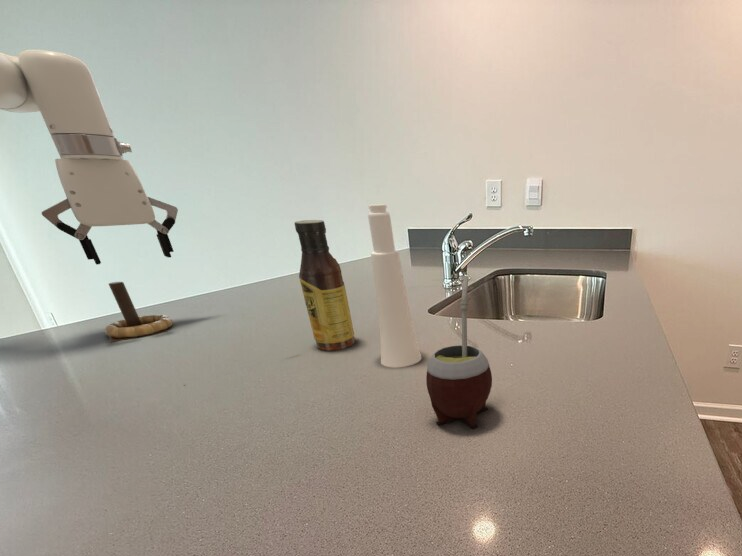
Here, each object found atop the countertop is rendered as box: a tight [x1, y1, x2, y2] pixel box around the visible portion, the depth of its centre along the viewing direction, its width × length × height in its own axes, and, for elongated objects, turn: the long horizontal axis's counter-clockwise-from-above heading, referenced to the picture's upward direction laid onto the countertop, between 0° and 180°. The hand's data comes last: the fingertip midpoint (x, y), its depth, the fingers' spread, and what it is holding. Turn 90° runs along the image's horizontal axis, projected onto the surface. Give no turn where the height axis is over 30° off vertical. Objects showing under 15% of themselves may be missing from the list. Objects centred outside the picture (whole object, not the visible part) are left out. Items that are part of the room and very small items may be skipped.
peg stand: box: [108, 281, 168, 344], centre depth 74 cm, size 8×8×10 cm
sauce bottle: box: [294, 219, 356, 352], centre depth 64 cm, size 6×6×20 cm
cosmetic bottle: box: [367, 203, 422, 368], centre depth 57 cm, size 6×6×22 cm
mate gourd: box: [425, 275, 493, 430], centre depth 44 cm, size 8×8×15 cm
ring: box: [104, 314, 174, 338], centre depth 76 cm, size 10×10×2 cm
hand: (134, 259), depth 73 cm, fingers open, 9 cm apart
